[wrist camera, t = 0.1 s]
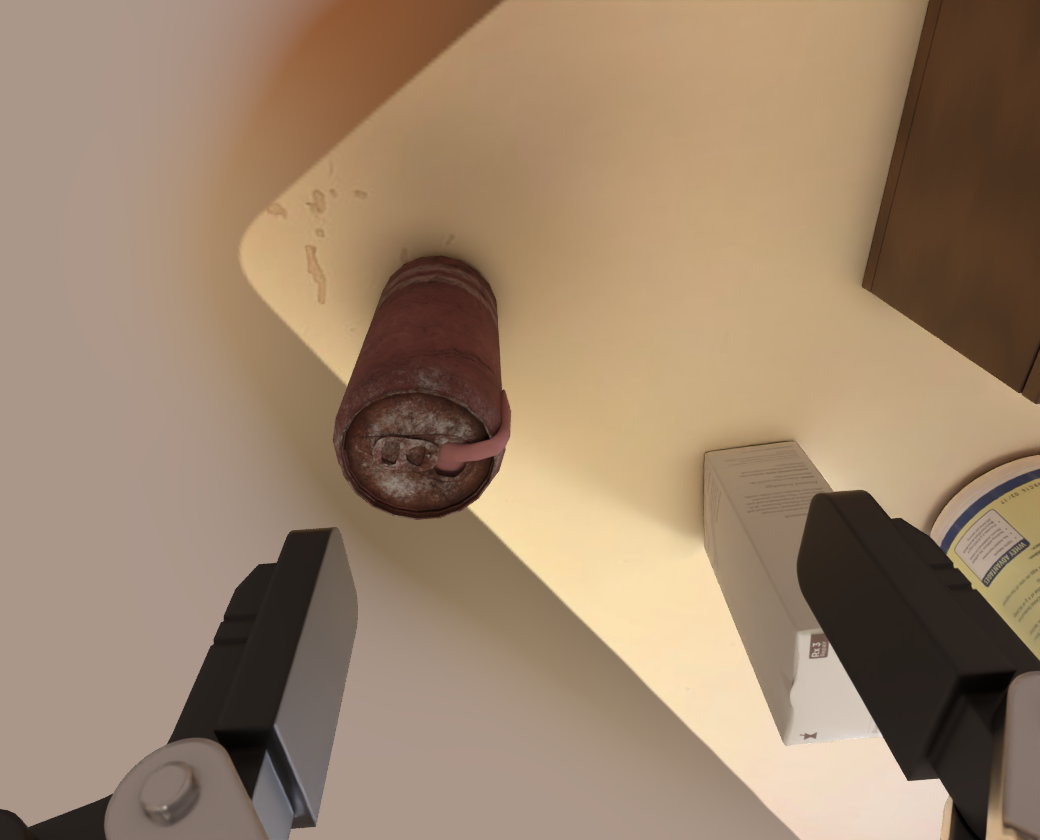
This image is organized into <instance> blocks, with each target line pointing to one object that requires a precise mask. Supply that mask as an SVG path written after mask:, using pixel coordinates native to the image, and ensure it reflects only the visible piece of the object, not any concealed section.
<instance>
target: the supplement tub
mask: <svg viewBox="0 0 1040 840" xmlns="http://www.w3.org/2000/svg"><path fill="white" fill-rule="evenodd" d="M930 537H931V538H932V539H933V540H934V541H935V542H936V544H937V545H938V546H939V547H940V548H941V549H942V550H943V552H944V553H945V554H946V555H947V556H948V557H949V558H950V559H951V561H952V562H953V563H954V564H953V565H954V568H958V569H959V570H960V571H961V572H962V573H963V574H964V575H965V576H966V578H967V579H968V580H969V581H970V582H971V583H972V588H973V589H977V590H978V591H979V592H980V593H981V595H982V596H983V597H984V598H985V599H986V600H987V601H988V603H989V604H990V605H991V606H992V607H993V608H994V609H995V610H996V612H997V613H998V614H999V615H1000V616H1001V617H1002V618H1003V620H1004V621H1005V622H1006V623H1007V624H1008V625H1009V626H1010V628H1011V629H1012V630H1013V631H1014V632H1015V633H1016V634H1017V635H1018V637H1019V638H1020V639H1021V640H1022V641H1023V642H1024V643H1025V645H1026V646H1027V647H1028V648H1029V649H1030V650H1031V651H1032V652H1033V654H1034V655H1035V656H1036V657H1037V658H1038V659H1039V660H1040V455H1036V456H1030V457H1025V458H1021V459H1018V460H1015V461H1012V462H1009V463H1007V464H1004V465H1002V466H999V467H997V468H995V469H993V470H991V471H989V472H987V473H985V474H984V475H982V476H980V477H979V478H977V479H976V480H974V481H973V482H971V483H970V484H968V485H967V486H966V487H964V488H963V489H962V490H961V491H960V492H959V493H958V494H957V495H955V496H954V497H953V498H952V500H951V501H950V502H949V503H948V504H947V505H946V506H945V508H944V509H943V510H942V512H941V513H940V515H939V516H938V518H937V520H936V522H935V524H934V526H933V528H932V531H931V534H930Z"/></svg>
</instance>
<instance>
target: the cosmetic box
mask: <svg viewBox="0 0 1040 840" xmlns="http://www.w3.org/2000/svg"><path fill="white" fill-rule="evenodd" d="M826 492H834V491H833V490H832V488H831V487H830V486H829V484H828V483H827V482H826V480H825V479H824V478H823V476H822V475H821V474H820V472H819V471H818V470H817V468H816V467H815V466H814V464H813V463H812V461H811V460H810V459H809V457H808V456H807V455H806V453H805V452H804V451H803V449H802V448H801V447H800V445H799V444H798V443H797V442H793V441H790V442H782V443H774V444H766V445H758V446H750V447H742V448H734V449H726V450H719V451H711V452H707V453H705V462H704V527H705V543H704V548H705V550H706V553H707V555H708V558H709V560H710V563H711V565H712V568H713V570H714V573H715V575H716V578H717V580H718V583H719V585H720V588H721V590H722V593H723V595H724V598H725V600H726V603H727V605H728V608H729V610H730V613H731V615H732V618H733V620H734V623H735V625H736V628H737V630H738V632H739V635H740V637H741V640H742V642H743V645H744V647H745V650H746V652H747V655H748V657H749V660H750V662H751V664H752V667H753V669H754V672H755V674H756V677H757V679H758V682H759V684H760V687H761V689H762V692H763V694H764V697H765V699H766V702H767V704H768V707H769V709H770V712H771V714H772V716H773V719H774V721H775V724H776V726H777V729H778V731H779V734H780V736H781V738H782V741H783V743H784V744H785V745H786V746H792V745H802V744H813V743H824V742H833V741H840V740H849V739H858V738H872V737H883V736H882V734H881V733H880V731H879V729H878V727H877V726H876V724H875V722H874V720H873V718H872V717H871V715H870V713H869V711H868V710H867V708H866V706H865V704H864V703H863V701H862V699H861V697H860V695H859V694H858V692H857V690H856V688H855V687H854V685H853V683H852V681H851V680H850V678H849V676H848V674H847V673H846V671H845V669H844V667H843V665H842V664H841V662H840V660H839V658H838V657H837V655H836V653H835V651H834V650H833V648H832V646H831V644H830V643H829V641H828V639H827V637H826V635H825V634H824V632H823V630H822V628H821V627H820V625H819V623H818V621H817V620H816V618H815V616H814V614H813V613H812V611H811V609H810V607H809V605H808V604H807V602H806V600H805V598H804V596H803V594H802V592H801V589H800V586H799V582H798V578H797V557H798V553H799V549H800V545H801V540H802V536H803V532H804V528H805V523H806V519H807V515H808V511H809V507H810V503H811V500H812V498H813V497H814V495H816V494H817V493H826Z"/></svg>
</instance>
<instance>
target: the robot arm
mask: <svg viewBox="0 0 1040 840" xmlns="http://www.w3.org/2000/svg"><path fill="white" fill-rule="evenodd" d="M953 564H954V563H953V562H952V561H951V559H950V558H949V557H948V556H947V555H946V554H945V553H944V552H943V550H942V549H941V548H940V547H939V546H938V545H937V544H936V542H935V541H934V540H933V539H932V538H931V537H929V536H928V535H926V534H924V533H923V532H921V531H920V530H918V529H917V528H915V527H914V526H912V525H911V524H909V523H908V522H906V521H905V520H903V519H902V518H894V519H891V518H890V517H889V516H888V515H887V513H886V512H885V511H884V510H883V509H882V507H881V506H880V505H879V504H878V503H877V501H876V500H875V499H874V498H873V497H872V496H871V495H870V494H869V493H868V492H867V491H864V490H853V491H840V492H826V493H817V494H816V495H814V497H813V498H812V500H811V503H810V507H809V511H808V515H807V519H806V523H805V528H804V532H803V536H802V540H801V545H800V549H799V553H798V557H797V578H798V582H799V586H800V589H801V592H802V594H803V596H804V598H805V600H806V602H807V604H808V605H809V607H810V609H811V611H812V613H813V614H814V616H815V618H816V620H817V621H818V623H819V625H820V627H821V628H822V630H823V632H824V634H825V635H826V637H827V639H828V641H829V643H830V644H831V646H832V648H833V650H834V651H835V653H836V655H837V657H838V658H839V660H840V662H841V664H842V665H843V667H844V669H845V671H846V673H847V674H848V676H849V678H850V680H851V681H852V683H853V685H854V687H855V688H856V690H857V692H858V694H859V695H860V697H861V699H862V701H863V703H864V704H865V706H866V708H867V710H868V711H869V713H870V715H871V717H872V718H873V720H874V722H875V724H876V726H877V727H878V729H879V731H880V733H881V734H882V736H883V738H884V740H885V741H886V743H887V745H888V747H889V748H890V750H891V752H892V754H893V756H894V757H895V759H896V761H897V763H898V764H899V766H900V768H901V770H902V771H903V773H904V775H905V777H906V778H907V780H908V781H914V780H926V779H938V778H939V779H940V780H941V782H942V783H943V785H944V787H945V788H946V790H947V792H948V793H949V797H948V799H947V801H946V803H945V806H944V811H943V819H942V828H941V836H940V840H1040V660H1039V659H1038V658H1037V657H1036V656H1035V655H1034V654H1033V652H1032V651H1031V650H1030V649H1029V648H1028V647H1027V646H1026V645H1025V643H1024V642H1023V641H1022V640H1021V639H1020V638H1019V637H1018V635H1017V634H1016V633H1015V632H1014V631H1013V630H1012V629H1011V628H1010V626H1009V625H1008V624H1007V623H1006V622H1005V621H1004V620H1003V618H1002V617H1001V616H1000V615H999V614H998V613H997V612H996V610H995V609H994V608H993V607H992V606H991V605H990V604H989V603H988V601H987V600H986V599H985V598H984V597H983V596H982V595H981V593H980V592H979V591H978V590H977V589H973V588H972V583H971V582H970V581H969V580H968V579H967V578H966V576H965V575H964V574H963V573H962V572H961V571H960V570H959V569H958V568H954V565H953ZM357 620H358V603H357V594H356V589H355V586H354V581H353V578H352V574H351V570H350V566H349V562H348V558H347V554H346V551H345V547H344V543H343V539H342V536H341V533H340V531H339V529H338V528H336V527H332V528H319V529H306V530H293V531H291V532H289V534H288V536H287V538H286V540H285V543H284V545H283V548H282V551H281V553H280V556H279V558H278V561H277V563H271V564H259V565H258V566H257V567H256V568H255V569H254V570H253V571H252V572H251V573H250V574H249V576H247V577H246V578H245V580H244V581H243V582H242V583H241V584H240V585H239V586H238V587H237V588H236V589H235V592H234V594H233V596H232V598H231V601H230V603H229V605H228V607H227V610H226V612H225V614H224V621H223V622H221V624H220V626H219V628H218V630H217V633H216V635H215V637H214V644H213V645H212V646H211V647H210V649H209V651H208V653H207V656H206V658H205V660H204V663H203V665H202V667H201V669H200V672H199V674H198V676H197V679H196V681H195V683H194V686H193V688H192V690H191V692H190V695H189V697H188V699H187V702H186V704H185V706H184V709H183V711H182V713H181V715H180V718H179V720H178V722H177V724H176V727H175V729H174V731H173V734H172V736H171V738H170V740H169V741H168V743H167V745H165V746H163V747H161V748H159V749H157V750H156V751H154V752H152V753H151V754H149V755H148V756H146V757H145V758H144V759H143V760H141V761H140V762H139V763H138V764H137V765H135V766H134V767H133V769H132V770H130V772H129V773H128V774H127V775H126V776H125V777H124V778H123V780H122V781H121V782H120V784H119V785H118V787H117V788H116V790H115V792H114V793H113V794H111V795H109V796H107V797H105V798H103V799H101V800H98V801H96V802H94V803H91V804H88V805H86V806H83V807H80V808H78V809H75V810H72V811H70V812H67V813H65V814H62V815H59V816H57V817H54V818H51V819H49V820H46V821H44V822H41V823H38V824H36V825H33V826H31V827H27V826H26V824H25V823H24V822H23V821H22V820H21V819H20V818H19V817H18V816H17V815H16V814H15V813H12V812H10V811H8V810H2V809H0V840H288V838H289V834H290V830H291V829H293V828H305V827H316V823H317V818H318V813H319V808H320V804H321V799H322V794H323V789H324V784H325V779H326V775H327V770H328V765H329V760H330V755H331V750H332V745H333V741H334V736H335V731H336V726H337V721H338V716H339V712H340V707H341V702H342V697H343V692H344V687H345V682H346V677H347V673H348V668H349V663H350V658H351V653H352V648H353V643H354V639H355V634H356V629H357Z"/></svg>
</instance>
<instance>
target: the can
mask: <svg viewBox="0 0 1040 840" xmlns="http://www.w3.org/2000/svg"><path fill="white" fill-rule="evenodd" d="M510 422H511V410H510V406H509V403H508V399H507V396H506V392H505V390H502V383H501V366H500V349H499V333H498V316H497V304H496V299H495V297H494V294H493V292H492V290H491V287H490V285H489V283H488V282H487V281H486V280H485V279H484V278H483V277H482V276H481V274H480V273H479V272H478V271H477V270H476V269H474V268H472V267H470V266H469V265H467V264H465V263H464V262H462V261H460V260H456V259H452V258H448V257H444V256H433V257H422V258H419V259H417V260H414V261H412V262H409V263H407V264H405V265H403V266H402V267H401V268H400V269H399V270H398V271H397V272H395V273H394V274H393V275H392V276H391V277H390V279H389V281H388V283H387V285H386V286H385V288H384V290H383V292H382V294H381V297H380V300H379V302H378V305H377V308H376V311H375V313H374V316H373V319H372V321H371V324H370V327H369V330H368V332H367V335H366V338H365V340H364V343H363V346H362V348H361V351H360V354H359V357H358V359H357V362H356V365H355V367H354V370H353V373H352V376H351V378H350V381H349V384H348V386H347V389H346V392H345V395H344V397H343V400H342V403H341V405H340V408H339V411H338V414H337V416H336V421H335V428H334V435H333V443H334V447H335V451H336V455H337V458H338V463H339V464H340V466H341V468H342V472H343V475H344V477H345V479H346V480H347V481H348V483H349V484H350V486H351V487H352V489H353V490H354V492H355V493H356V494H357V495H358V496H360V497H361V498H362V499H363V500H365V501H366V502H367V503H369V504H370V505H371V506H372V507H374V508H377V509H379V510H382V511H384V512H386V513H388V514H390V515H393V516H398V517H404V518H409V519H416V520H420V519H433V518H441V517H444V516H447V515H450V514H453V513H456V512H459V511H461V510H463V509H464V508H466V507H467V506H468V505H470V504H471V503H473V502H474V501H476V500H477V499H479V497H480V496H481V495H482V493H483V492H484V491H485V489H486V488H487V487H488V485H489V484H490V483H491V481H492V479H493V478H494V477H495V475H496V474H497V473H498V471H499V469H500V466H501V463H502V459H503V456H504V453H505V446H506V444H507V442H508V440H509V438H510Z"/></svg>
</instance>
